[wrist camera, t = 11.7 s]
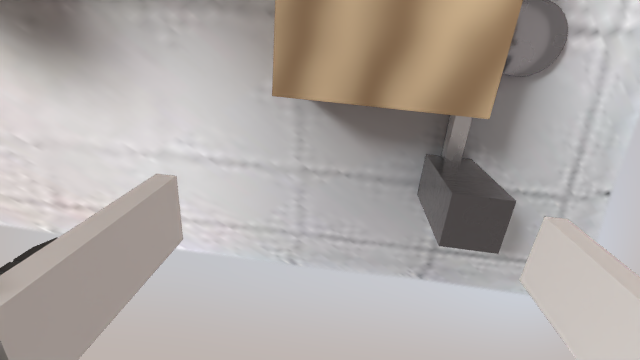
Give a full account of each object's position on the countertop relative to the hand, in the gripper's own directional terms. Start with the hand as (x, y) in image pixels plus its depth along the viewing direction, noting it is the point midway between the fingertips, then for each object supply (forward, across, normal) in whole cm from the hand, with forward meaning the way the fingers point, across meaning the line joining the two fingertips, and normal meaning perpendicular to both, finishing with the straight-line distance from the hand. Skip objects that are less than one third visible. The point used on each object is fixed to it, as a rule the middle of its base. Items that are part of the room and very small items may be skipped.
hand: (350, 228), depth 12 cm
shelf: (+22, +2, +9) cm, 24 cm away
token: (+22, +14, +8) cm, 27 cm away
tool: (+22, +10, +2) cm, 24 cm away
